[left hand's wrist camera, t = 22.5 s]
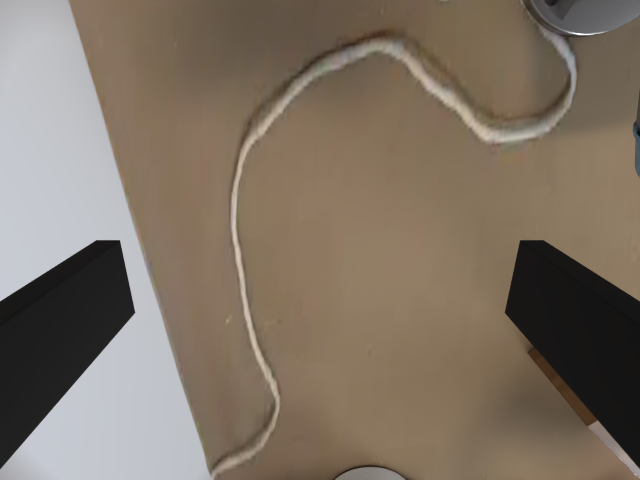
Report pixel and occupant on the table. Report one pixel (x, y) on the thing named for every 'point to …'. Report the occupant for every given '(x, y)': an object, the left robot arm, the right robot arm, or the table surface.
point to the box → (583, 411)
